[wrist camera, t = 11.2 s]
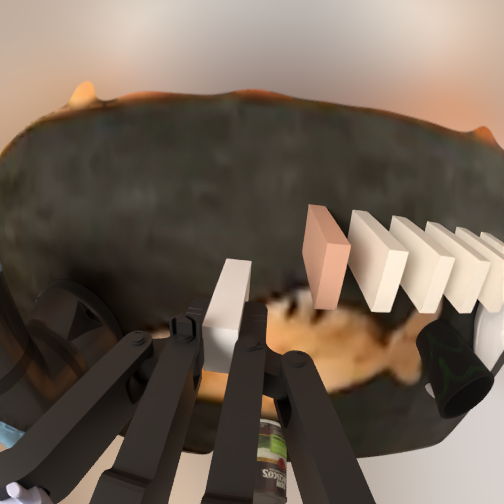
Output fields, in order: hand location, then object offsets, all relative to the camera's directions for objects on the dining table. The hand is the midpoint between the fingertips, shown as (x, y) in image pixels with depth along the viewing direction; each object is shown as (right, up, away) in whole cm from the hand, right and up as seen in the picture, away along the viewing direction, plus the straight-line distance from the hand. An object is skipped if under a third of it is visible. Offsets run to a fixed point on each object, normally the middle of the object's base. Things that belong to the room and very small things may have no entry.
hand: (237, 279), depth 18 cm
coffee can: (+2, -30, +25) cm, 39 cm away
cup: (+26, -10, +15) cm, 31 cm away
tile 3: (+20, +3, +10) cm, 23 cm away
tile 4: (+25, +2, +10) cm, 27 cm away
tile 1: (+11, +3, +10) cm, 16 cm away
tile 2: (+16, +3, +10) cm, 19 cm away
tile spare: (+7, +4, +10) cm, 13 cm away
